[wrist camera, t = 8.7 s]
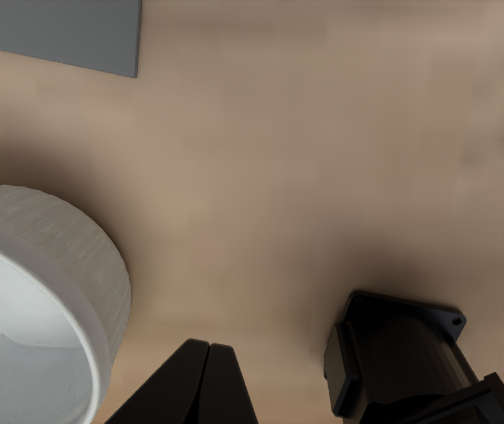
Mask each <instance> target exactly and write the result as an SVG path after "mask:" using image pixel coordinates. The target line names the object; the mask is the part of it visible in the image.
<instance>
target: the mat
mask: <svg viewBox="0 0 504 424" xmlns="http://www.w3.org/2000/svg"><path fill="white" fill-rule="evenodd" d="M141 7H142V0H0V50H1V51H6V52H11V53H16V54H21V55H25V56H30V57H35V58H40V59H45V60H49V61H54V62H59V63H64V64H69V65H74V66H78V67H83V68H88V69H93V70H98V71H103V72H107V73H112V74H117V75H122V76H127V77H131V78H136V77H137V67H138V52H139V37H140V22H141Z"/></svg>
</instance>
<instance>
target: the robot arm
mask: <svg viewBox="0 0 504 424" xmlns="http://www.w3.org/2000/svg"><path fill="white" fill-rule="evenodd" d="M357 299H362V301H360V302H356V300H357ZM455 318H458V319H457V320H455V321H453V319H455ZM465 324H466V317H465V316H464V315H463V313H462V312H461V311H459V310H455V309H450V308H445V307H440V306H435V305H430V304H425V303H420V302H415V301H410V300H405V299H400V298H395V297H390V296H385V295H380V294H375V293H370V292H365V291H354V292H353V293H351V295H350V296H349V299H348V302H347V304H346V307H345V310H344V313H343V316H342V318H341V321H338V322H337V323H336V324H335V325H334V328H333V330H332V333H331V336H330V339H329V342H328V345H327V348H326V350H325V353H324V361H325V366H324V369H323V372H324V377H325V379H326V380H327V382H328V389H329V395H330V402H331V409H332V412H333V414H334V415H335V416H336V417H340V418H342V419H343V424H504V384H503V382H502V381H501V379H500V378H499V376H498V375H497V373H496V372H494V373H491V374H489V375H487V376H484V380H482V381H479V380H478V379H477V377H476V375H475V374H474V372H473V370H472V369H471V367H470V365H469V364H468V362H467V360H466V359H465V357H464V355H463V354H462V352H461V350H460V349H459V347H458V345H457V344H456V341H457V339H458V337H459V335H460V333H461V331H462V330H463V328H464V326H465ZM104 424H258V421H257V418H256V415H255V412H254V409H253V406H252V403H251V400H250V397H249V394H248V391H247V388H246V385H245V382H244V379H243V376H242V373H241V370H240V367H239V364H238V361H237V358H236V355H235V352H234V349H233V348H232V347H231V346H228V345H223V344H218V343H212V344H211V345H210V344H209V342H207V341H203V340H198V339H193V338H190V339H187V340H186V341H185V342H184V343H183V344H182V345H181V346H180V347H179V348H178V349H177V350H176V351H175V352H174V353H173V354H172V355H171V356H170V357H169V358H168V359H167V360H166V361H165V362H164V363H163V364H162V365H161V366H160V367H159V368H158V369H157V370H156V371H155V372H154V373H153V374H152V375H151V376H150V377H149V379H148V380H147V381H146V382H145V383H144V384H143V385H142V386H141V387H140V388H139V389H138V390H137V391H136V392H135V393H134V394H133V395H132V396H131V397H130V398H129V399H128V400H127V401H126V402H125V403H124V404H123V405H122V406H121V407H120V408H119V409H118V410H117V411H116V412H115V413H114V414H113V415H112V416H111V417H110V418H109V419H108V420H107V421H106V422H105V423H104Z"/></svg>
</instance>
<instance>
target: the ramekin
mask: <svg viewBox="0 0 504 424" xmlns="http://www.w3.org/2000/svg"><path fill="white" fill-rule="evenodd" d="M130 307H131V285H130V282H129V275H128V272H127V270H126V266H125V263H124V261H123V259H122V258H121V255H120V253H119V251H118V250H117V248H116V247H115V245H114V244H113V242H112V240H111V239H110V238H109V237H108V236H107V234H106V233H105V232H104V231H103V229H102V228H101V227H99V226H98V225H97V224H96V223H95V222H94V221H93V220H92V219H91V218H90V217H88V216H87V215H86V214H85V213H83V212H82V211H81V210H79V209H78V208H76V207H74V206H73V205H71V204H70V203H68V202H66V201H64V200H61V199H59V198H58V197H56V196H54V195H50V194H47V193H45V192H42V191H40V190H37V189H30V188H27V187H24V186H12V185H0V424H91V422H92V420H93V419H94V417H95V415H96V413H97V412H98V410H99V408H100V406H101V404H102V403H103V400H104V398H105V396H106V394H107V391H108V388H109V384H110V379H111V369H112V366H113V363H114V361H115V358H116V355H117V353H118V350H119V347H120V344H121V341H122V338H123V335H124V332H125V329H126V326H127V324H128V320H129V315H130Z"/></svg>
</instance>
